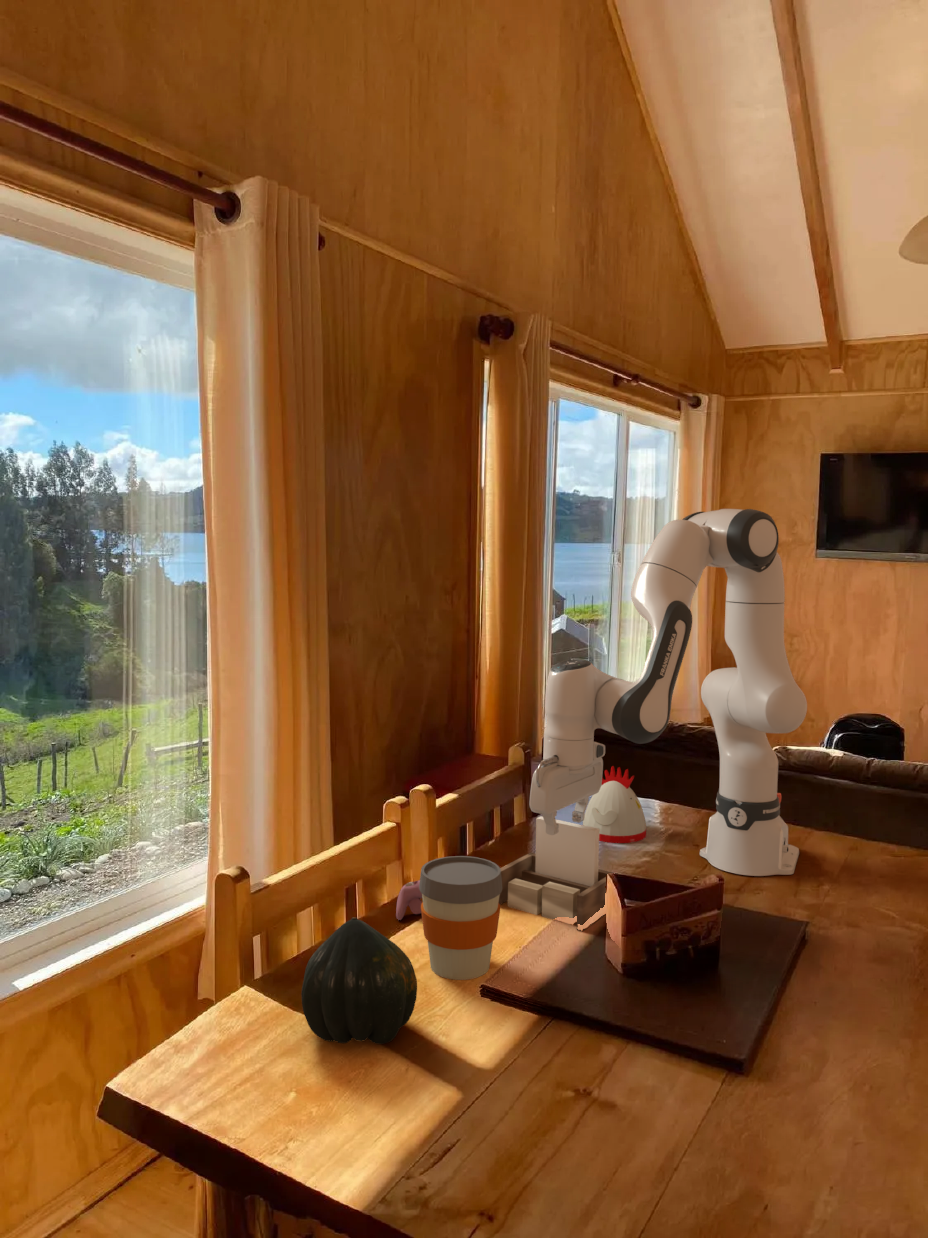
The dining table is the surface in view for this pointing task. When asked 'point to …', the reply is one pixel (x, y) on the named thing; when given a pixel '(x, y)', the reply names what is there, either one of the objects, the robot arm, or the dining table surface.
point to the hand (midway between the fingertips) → (565, 827)
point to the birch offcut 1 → (525, 896)
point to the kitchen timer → (616, 810)
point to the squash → (358, 986)
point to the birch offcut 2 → (559, 901)
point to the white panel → (568, 852)
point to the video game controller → (409, 899)
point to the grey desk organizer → (586, 900)
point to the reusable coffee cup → (460, 914)
